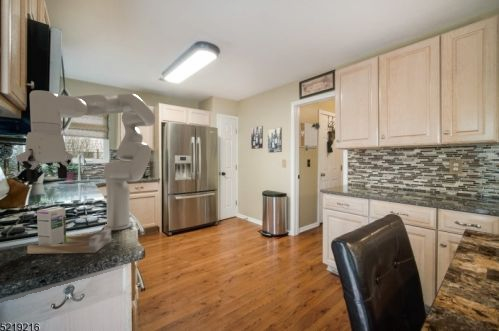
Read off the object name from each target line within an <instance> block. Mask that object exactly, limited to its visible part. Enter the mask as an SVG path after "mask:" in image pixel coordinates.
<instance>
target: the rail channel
mask: <svg viewBox="0 0 499 331" xmlns="http://www.w3.org/2000/svg"><path fill="white" fill-rule="evenodd" d="M111 242H112V230H111V229H103V230H102V231H99V232H98V233H86V234H85V233H84V234H83V233H82V234H69V235H68V234H66V244H58V245H38V244H30V245H28V246H27V248H26V249H27V252H26V253H27V255H28V254H29V255H31V254H33V255H35V254H38V255H39V254H87V253H88V254H89V253H91V254H92V253H97V252H98V251H99V250H100V249H102V248H103V247H105V246H106V245H108V244H109V243H111Z"/></svg>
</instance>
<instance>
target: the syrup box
mask: <svg viewBox="0 0 499 331" xmlns="http://www.w3.org/2000/svg"><path fill="white" fill-rule="evenodd" d="M36 216H37V217H36V219H37V220H36V221H37V222H36V223H37V240H38V241H37V242H38V243H37V245H58V244H66V235H67V231H66V230H67V226H66V225H67V224H66V223H67V222H66V221H67V219H66V208H65V207H63V206H52V207H48V208H43V209H37V211H36Z"/></svg>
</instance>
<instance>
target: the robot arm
mask: <svg viewBox="0 0 499 331" xmlns="http://www.w3.org/2000/svg"><path fill="white" fill-rule="evenodd" d="M29 110H30V132H27V136H26V139H25V140H26V141H25V149H24V151H23V152H21V153H19V154H17V155H16V156H15V158H16V160H17V162H18V163H19V164H20V166H21V167H23V169H24V170H26V181H27V182H31V183H37V182H38V181H39V178H38V176H39V174H38V169H36V168H37V167H38V165H39V164H53V163H56V164H57V166H58V167H57V178H58V179H68V168H69V166H70V164H71V163H72V160H73V158H74V155H73V154H71V153H69V152H68V151H67V150H66V148H67V147H66V143H65V139H64V136H63V134H62V132H63V131H64V128H63V127H62V123H61V122H62V121H61V120H62V119H65V118H67V119H69V118H70V119H74V118H81V117H83V116H105V115H113V114H121V121H122V124H123V127H124V131H125V132H124V135H123V138H122V140H121V142H120V144H119V146H118V148H117V150H116V157H117V159H119V160H112V161H108V162H107V163H106V164H105V165H104V168H103V176H104V180H105V186H106V223H107V224H106V223H105V225H104V224H103V226H102V229H103V228H104V229H111V231H120V230H125V229H129V228H131V227H133V225H134V222H133V220H131V217H132V216H133V215H132V213H131V212H130V211H131V210H130V209H131V208H130V205H131V204H130V197H131V196H130V195H131V194H130V191H131V190H130V186H129V185H128V184H129V183H128V182H138V181H139V180H141V179H142V178H143V177H144V174H145V172H146V169H147V167H148V165H149V162H150V160H151V157H152V156H151V155H152V151H151V146H150V145H149V144H147V143H145V142H143V139H144V138H143V136H144V135H143V133H142V132H141V130H140V128H139V127H151V126H154V125H155V122H156V116H155V113H154V111H153V110H152V108H150V107H149V106H148V105H147V104H146V102H145V101H144V100H143V99H141V97H139V96H138V95H137V94H134V93H117V94H116V93H115V94H113V93H112V94H110V93H108V94H106V93H105V94H104V93H103V94H87V95H80V96H72V95H63V94H57V93H55V92H52V91H48V90H32V91H30V93H29ZM104 229H103V230H104Z"/></svg>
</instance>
